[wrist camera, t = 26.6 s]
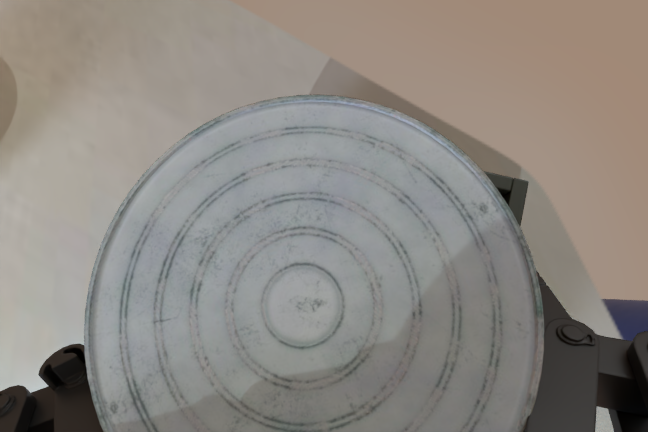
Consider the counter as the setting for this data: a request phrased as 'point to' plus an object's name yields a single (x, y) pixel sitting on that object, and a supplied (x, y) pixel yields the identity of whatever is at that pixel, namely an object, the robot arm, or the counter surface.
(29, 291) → the counter surface
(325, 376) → the canned food
